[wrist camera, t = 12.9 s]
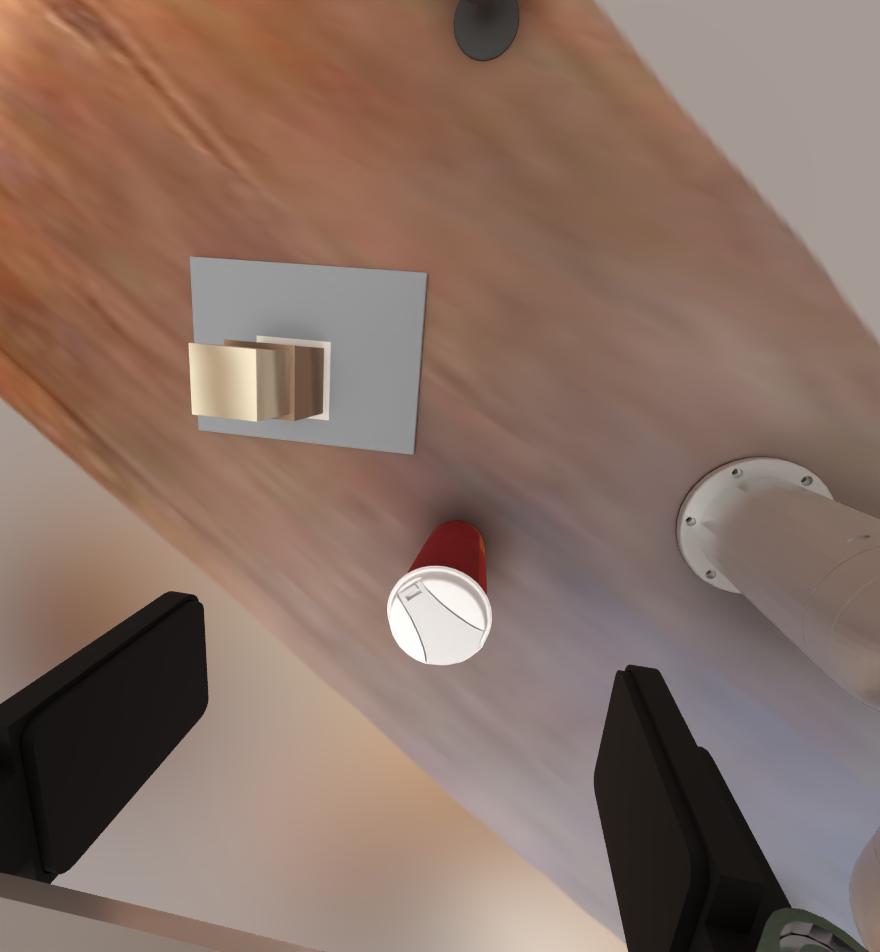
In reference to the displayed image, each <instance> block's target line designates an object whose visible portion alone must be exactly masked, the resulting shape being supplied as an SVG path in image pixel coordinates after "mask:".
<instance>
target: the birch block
mask: <svg viewBox="0 0 880 952" xmlns="http://www.w3.org/2000/svg"><path fill="white" fill-rule="evenodd" d="M189 359H190V379H191V400H192V414H195V415H203V416H212V417H221V418H229V419H238V420H247V421H255V422H258V421H262V420H266V419H271V418H275V417H279V416H284V415H288V414H289V373H290V351H282V350H271V349H261V348H250V347H240V346H229V345H214V344H200V343H189Z"/></svg>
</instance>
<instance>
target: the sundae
mask: <svg viewBox="0 0 880 952" xmlns="http://www.w3.org/2000/svg"><path fill="white" fill-rule="evenodd" d="M518 24H519V9H518V4H517V2H516V0H461V1H460V3H459V5H458V7H457V9H456V13H455V18H454V32H455V38H456V40H457V42H458V45H459V46H460V48H461V50H462V51H463V52H464V53H465V54H466V55H468V56H469V57H471V58H473V59H476V60H482V61H485V60H490V59H493V58H496V57H498V56H499V55H501V54H502V53H503V52H504V51H505V50H507V49H508V47H509V46H510V44H511V43H512V41H513V39H514V37H515V36H516V32H517V29H518Z"/></svg>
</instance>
